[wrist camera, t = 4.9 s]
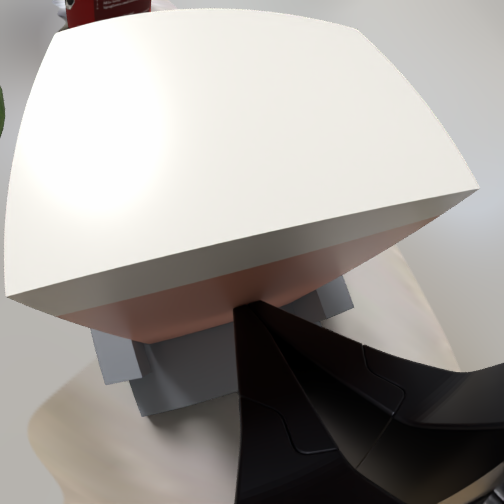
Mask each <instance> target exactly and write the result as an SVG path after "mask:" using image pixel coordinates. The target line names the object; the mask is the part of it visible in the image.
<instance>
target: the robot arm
mask: <svg viewBox="0 0 504 504" xmlns="http://www.w3.org/2000/svg"><path fill="white" fill-rule="evenodd" d="M233 325H234V341H235V355H236V369H237V382H238V395H239V410H240V447H239V459H238V470H237V481H236V492H235V502H234V504H504V363H501V364H498V365H495V366H492V367H488V368H485V369H482V370H478V371H473V372H453V371H448V370H444V369H440V368H436V367H432V366H428V365H425V364H421V363H417V362H413V361H410V360H407V359H403V358H400V357H397V356H393V355H391V354H388V353H385V352H382V351H380V350H377V349H374V348H372V347H369V346H367V345H362V343H359V342H357V341H354V340H352V339H350V338H347V337H345V336H342V335H340V334H338V333H335V332H333V331H330V330H328V329H326V328H323V327H321V326H319V325H316V324H314V323H312V322H309V321H307V320H305V319H303V318H300V317H298V316H296V315H293V314H291V313H289V312H287V311H284V310H282V309H280V308H278V307H275V306H273V305H271V304H269V303H267V302H264V301H262V300H258V301H255V302H252V303H249V304H247V305H241V306H238V307H235V308H233Z"/></svg>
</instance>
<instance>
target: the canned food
mask: <svg viewBox="0 0 504 504" xmlns="http://www.w3.org/2000/svg"><path fill="white" fill-rule="evenodd" d="M65 5H66V14H67V22H68V29H71V28H75V27H78V26H82V25H85V24H89V23H93V22H97V21H102V20H106V19H111V18H116V17H121V16H127V15H133V14H140V13H147V12H151V0H65Z"/></svg>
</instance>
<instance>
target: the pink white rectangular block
mask: <svg viewBox="0 0 504 504" xmlns="http://www.w3.org/2000/svg"><path fill="white" fill-rule="evenodd" d="M478 189H480V187H479V185H478V183H477V181H476V179H475V178H474V176H473V174H472V172H471V170H470V169H469V167H468V165H467V163H466V162H465V160H464V158H463V156H462V155H461V153H460V152H459V150H458V148H457V147H456V145H455V144H454V142H453V140H452V139H451V137H450V136H449V134H448V133H447V131H446V130H445V129H444V127H443V126H442V124H441V123H440V121H439V120H438V118H437V117H436V116H435V114H434V113H433V112H432V110H431V109H430V108H429V106H428V105H427V104H426V102H425V101H424V100H423V99H422V97H421V96H420V95H419V94H418V92H417V91H416V90H415V89H414V88H413V86H412V85H411V84H410V83H409V82H408V80H407V79H406V78H405V77H404V76H403V75H402V74H401V73H400V71H399V70H398V69H397V68H396V67H395V66H394V65H393V64H392V63H391V62H390V61H389V60H388V59H387V58H386V57H385V56H384V54H383V53H381V51H379V49H378V48H376V47H375V46H374V45H373V44H372V43H371V42H370V41H369V40H368V39H367V38H366V37H365V36H364V35H363V34H362V33H360V32H359V31H358V30H357V29H354V28H351V27H347V26H343V25H339V24H335V23H331V22H327V21H322V20H318V19H313V18H308V17H302V16H296V15H289V14H283V13H275V12H267V11H257V10H243V9H215V8H214V9H213V8H210V9H209V8H208V9H179V10H166V11H156V12H147V13H140V14H133V15H127V16H121V17H116V18H111V19H106V20H102V21H97V22H93V23H89V24H85V25H82V26H78V27H75V28H71V29H68V30H65V31H61V32H58V33H56V34H55V35H54V37H53V39H52V41H51V43H50V46H49V48H48V50H47V52H46V54H45V57H44V59H43V61H42V64H41V66H40V69H39V71H38V74H37V76H36V79H35V82H34V84H33V87H32V90H31V93H30V96H29V99H28V102H27V105H26V108H25V112H24V115H23V119H22V123H21V126H20V130H19V134H18V138H17V143H16V147H15V152H14V157H13V162H12V168H11V173H10V180H9V188H8V195H7V204H6V216H5V232H4V233H5V234H4V277H5V293H6V297H7V298H10V299H12V300H15V301H17V302H19V303H22V304H24V305H26V306H29V307H32V308H34V309H37V310H39V311H42V312H45V313H47V314H50V315H53V316H55V317H58V318H61V319H64V320H67V321H70V322H73V323H76V324H79V325H82V326H85V327H88V328H91V329H95V330H98V331H101V332H105V333H108V334H112V335H115V336H119V337H122V338H126V339H130V340H134V341H138V342H142V343H146V344H153V343H157V342H161V341H164V340H168V339H172V338H176V337H180V336H184V335H187V334H191V333H195V332H198V331H202V330H205V329H209V328H212V327H216V326H219V325H223V324H226V323H230V322H233V308H235V307H238V306H241V305H247V304H249V303H252V302H255V301H258V300H262V301H264V302H267V303H269V304H271V305H273V306H275V307H281V306H284V305H287V304H289V303H291V302H293V301H295V300H297V299H299V298H301V297H302V296H304V295H306V294H308V293H310V292H312V291H314V290H316V289H318V288H319V287H321V286H323V285H325V284H327V283H329V282H330V281H332V280H334V279H336V278H338V277H339V276H341V275H343V274H345V273H347V272H348V271H350V270H352V269H354V268H355V267H357V266H359V265H361V264H362V263H364V262H366V261H368V260H369V259H371V258H373V257H374V256H376V255H378V254H379V253H381V252H383V251H384V250H386V249H388V248H389V247H391V246H393V245H394V244H396V243H398V242H399V241H401V240H402V239H404V238H406V237H407V236H409V235H411V234H412V233H414V232H415V231H417V230H419V229H420V228H422V227H423V226H425V225H426V224H428V223H429V222H431V221H433V220H434V219H436V218H437V217H439V216H440V215H442V214H443V213H445V212H446V211H448V210H449V209H451V208H452V207H454V206H455V205H457V204H458V203H460V202H461V201H463V200H464V199H465V198H467V197H468V196H470V195H471V194H472V193H474V192H475V191H477V190H478Z"/></svg>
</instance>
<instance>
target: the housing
mask: <svg viewBox="0 0 504 504" xmlns="http://www.w3.org/2000/svg"><path fill="white" fill-rule="evenodd" d="M278 308H280V309H282V310H284V311H287V312H289V313H291V314H293V315H296V316H298V317H300V318H303V319H305V320H307V321H309V322H312V323H314V324H316V325H319V326H321V327H322V325H321V323H320V321H321V320H325V319H328V318H330V317H333V316H335V315H338V314H340V313H342V312H345V311H347V310H349V309H352V308H354V305H353V303H352V300H351V297H350V294H349V292H348V289H347V286H346V284H345V281H344V278H343V276H342V275H341V276H339V277H338V278H336V279H334V280H332V281H330V282H329V283H327V284H325V285H323V286H321V287H319V288H318V289H316V290H314V291H312V292H310V293H308V294H306V295H304V296H302V297H301V298H299V299H297V300H295V301H293V302H291V303H289V304H287V305H284V306H281V307H278ZM90 329H91V328H90ZM91 334H92V337H93V342H94V346H95V350H96V354H97V358H98V361H99V365H100V368H101V372H102V375H103V379H104V382H105V385H109V384H114V383H119V382H123V381H128V380H129V382H130V385H131V388H132V391H133V394H134V397H135V400H136V402H137V405H138V408H139V411H140V413H141V416H142V417H144V416H148V415H153V414H157V413H162V412H166V411H170V410H174V409H178V408H182V407H186V406H190V405H193V404H197V403H200V402H204V401H207V400H211V399H214V398H217V397H221V396H224V395H227V394H230V393H233V392H236V391H238V382H237V369H236V355H235V341H234V325H233V322H230V323H226V324H223V325H219V326H216V327H212V328H209V329H205V330H202V331H198V332H195V333H191V334H187V335H184V336H180V337H176V338H172V339H168V340H164V341H161V342H157V343H153V344H146V343H142V342H138V341H134V340H130V339H126V338H122V337H119V336H115V335H112V334H108V333H105V332H101V331H98V330H95V329H91Z"/></svg>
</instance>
